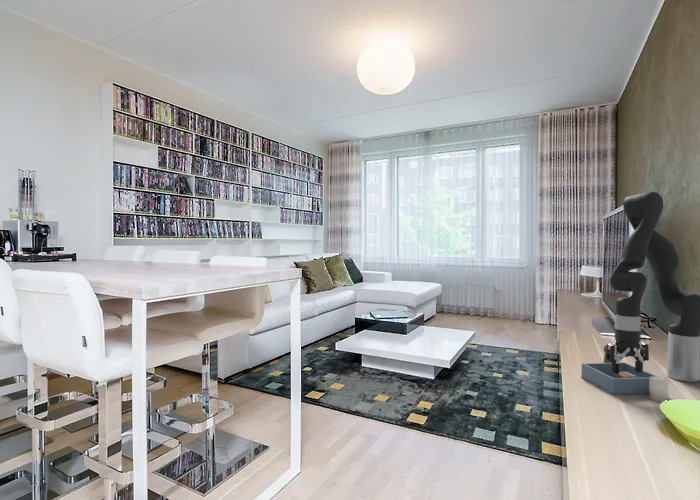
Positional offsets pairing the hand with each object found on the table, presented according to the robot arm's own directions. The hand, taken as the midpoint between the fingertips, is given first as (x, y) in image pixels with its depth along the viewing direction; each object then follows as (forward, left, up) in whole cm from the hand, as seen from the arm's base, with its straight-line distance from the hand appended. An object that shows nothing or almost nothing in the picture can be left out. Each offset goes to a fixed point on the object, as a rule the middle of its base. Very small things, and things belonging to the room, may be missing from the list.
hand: (627, 372), depth 139 cm
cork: (-8, -18, -7) cm, 20 cm away
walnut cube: (0, 0, -6) cm, 6 cm away
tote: (-1, -4, -6) cm, 8 cm away
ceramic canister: (-5, +8, -6) cm, 11 cm away
